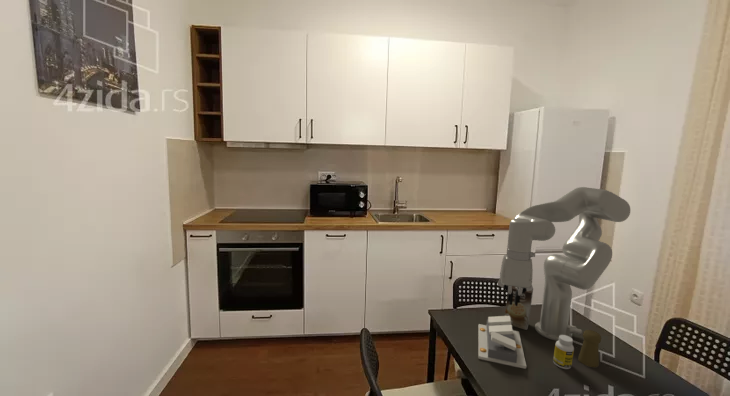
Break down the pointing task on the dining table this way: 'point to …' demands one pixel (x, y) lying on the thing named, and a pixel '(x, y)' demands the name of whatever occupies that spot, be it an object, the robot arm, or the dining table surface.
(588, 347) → the cork
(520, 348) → the switch unit
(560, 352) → the supplement bottle
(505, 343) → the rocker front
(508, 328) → the rocker middle
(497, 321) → the rocker back
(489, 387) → the dining table surface
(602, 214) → the robot arm
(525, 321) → the coffee box
